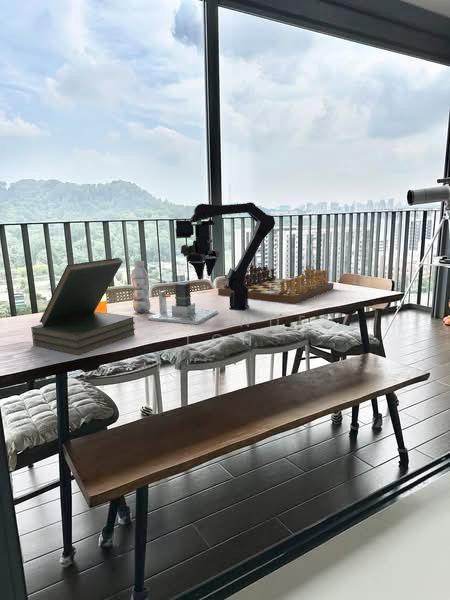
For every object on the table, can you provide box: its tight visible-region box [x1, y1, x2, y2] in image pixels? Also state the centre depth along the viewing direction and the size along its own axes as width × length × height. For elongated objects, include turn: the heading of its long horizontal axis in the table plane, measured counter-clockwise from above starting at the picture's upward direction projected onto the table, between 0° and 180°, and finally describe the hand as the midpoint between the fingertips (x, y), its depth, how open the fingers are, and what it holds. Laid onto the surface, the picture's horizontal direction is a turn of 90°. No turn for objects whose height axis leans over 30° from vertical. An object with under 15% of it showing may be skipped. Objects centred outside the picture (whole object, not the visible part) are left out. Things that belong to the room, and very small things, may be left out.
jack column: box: [174, 281, 192, 306], centre depth 155 cm, size 4×4×8 cm
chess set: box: [217, 262, 335, 305], centre depth 198 cm, size 40×40×15 cm
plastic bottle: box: [130, 260, 152, 314], centre depth 162 cm, size 6×7×20 cm
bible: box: [30, 257, 136, 356], centre depth 127 cm, size 23×20×25 cm
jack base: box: [147, 290, 219, 325], centre depth 155 cm, size 20×18×9 cm
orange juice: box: [95, 291, 108, 313], centre depth 158 cm, size 8×9×20 cm
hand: (204, 277), depth 163 cm, fingers open, 9 cm apart
